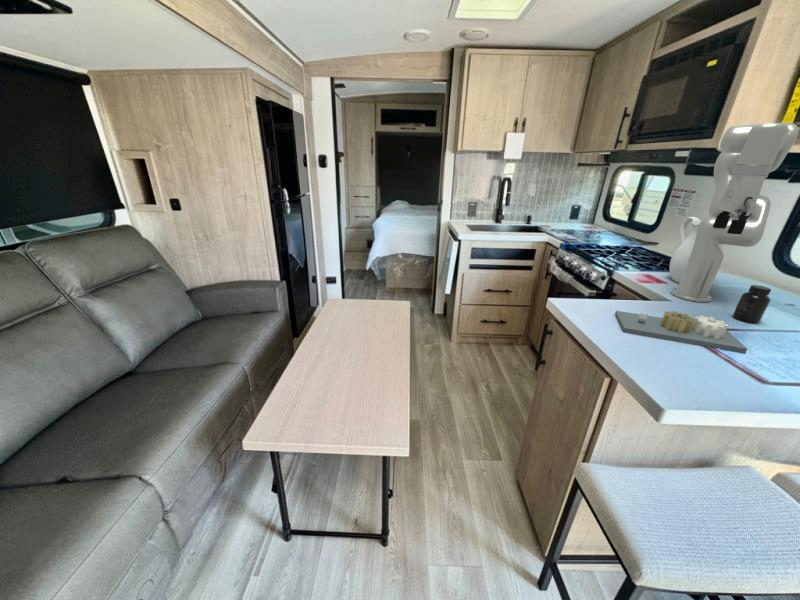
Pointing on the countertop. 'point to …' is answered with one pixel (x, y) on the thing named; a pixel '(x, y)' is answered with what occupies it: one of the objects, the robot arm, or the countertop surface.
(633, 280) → the countertop surface
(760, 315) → the supplement bottle
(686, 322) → the brass gear
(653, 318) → the gear board
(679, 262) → the pitcher
